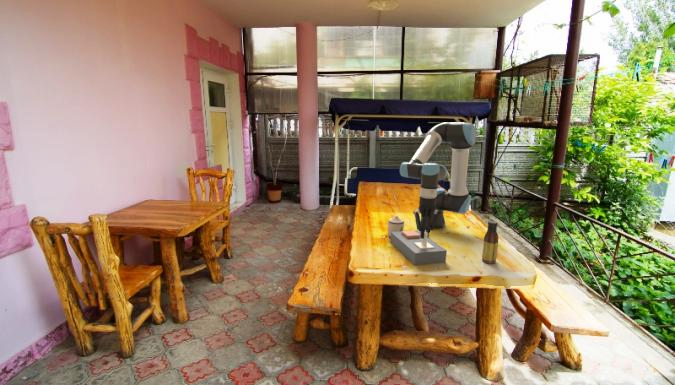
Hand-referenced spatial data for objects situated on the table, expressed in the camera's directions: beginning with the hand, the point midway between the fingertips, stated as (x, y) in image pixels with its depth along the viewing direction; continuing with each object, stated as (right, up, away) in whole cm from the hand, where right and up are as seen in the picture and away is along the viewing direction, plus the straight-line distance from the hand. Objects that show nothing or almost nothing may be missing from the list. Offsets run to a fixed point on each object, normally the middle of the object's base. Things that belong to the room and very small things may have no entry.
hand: (423, 244), depth 153 cm
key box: (-2, -5, +8) cm, 10 cm away
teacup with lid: (-8, 0, +32) cm, 33 cm away
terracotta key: (-3, 0, +14) cm, 14 cm away
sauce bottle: (+30, -8, -1) cm, 32 cm away
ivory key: (0, -4, +1) cm, 4 cm away
